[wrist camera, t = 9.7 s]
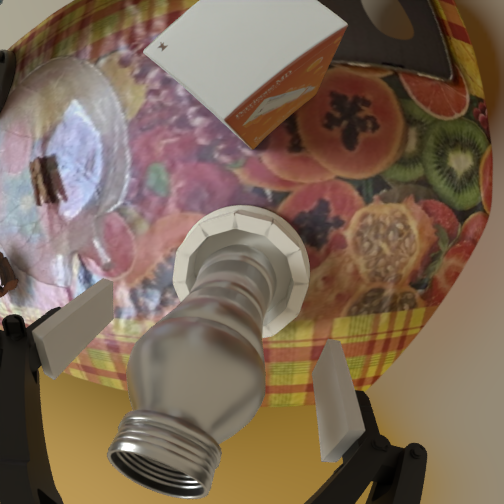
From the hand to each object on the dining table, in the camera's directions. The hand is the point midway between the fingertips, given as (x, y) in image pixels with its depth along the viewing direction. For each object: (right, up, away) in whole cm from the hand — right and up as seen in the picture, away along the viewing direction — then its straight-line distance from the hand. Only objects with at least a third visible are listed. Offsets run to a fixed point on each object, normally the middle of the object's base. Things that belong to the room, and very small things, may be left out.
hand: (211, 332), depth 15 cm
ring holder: (+1, +3, +11) cm, 11 cm away
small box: (+3, +18, +7) cm, 20 cm away
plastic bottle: (+1, +3, +10) cm, 11 cm away
